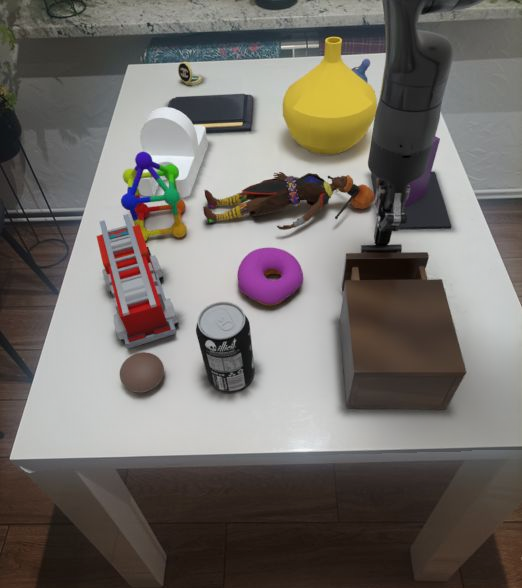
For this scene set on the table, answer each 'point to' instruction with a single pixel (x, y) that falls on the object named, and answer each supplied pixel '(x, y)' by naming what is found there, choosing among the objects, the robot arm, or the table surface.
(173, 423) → the table surface
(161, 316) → the toy fire truck
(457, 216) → the table surface
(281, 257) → the donut
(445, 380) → the cabinet
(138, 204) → the model
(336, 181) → the figurine
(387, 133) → the robot arm
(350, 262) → the drawer
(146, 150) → the bracket
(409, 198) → the purple rectangular block
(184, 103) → the wallet
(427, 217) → the mat
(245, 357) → the beverage can
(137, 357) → the egg
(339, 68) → the vase
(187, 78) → the eyeshadow
